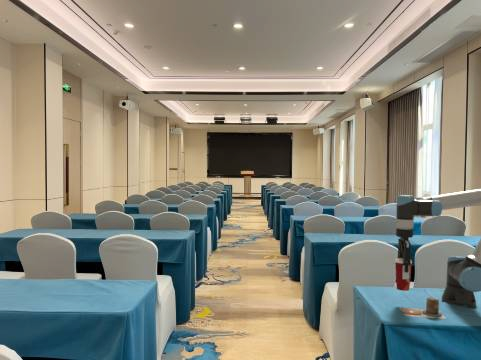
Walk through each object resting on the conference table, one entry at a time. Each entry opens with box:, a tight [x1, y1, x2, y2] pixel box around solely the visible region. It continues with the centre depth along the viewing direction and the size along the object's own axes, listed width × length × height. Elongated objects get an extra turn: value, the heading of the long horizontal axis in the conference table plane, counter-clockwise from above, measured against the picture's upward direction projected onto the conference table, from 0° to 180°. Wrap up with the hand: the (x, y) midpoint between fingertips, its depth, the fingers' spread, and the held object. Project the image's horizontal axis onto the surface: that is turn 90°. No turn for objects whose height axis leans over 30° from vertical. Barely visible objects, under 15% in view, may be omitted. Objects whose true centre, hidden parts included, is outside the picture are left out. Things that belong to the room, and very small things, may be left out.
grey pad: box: [422, 309, 443, 317], centre depth 196 cm, size 8×8×1 cm
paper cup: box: [394, 257, 413, 292], centre depth 208 cm, size 8×8×14 cm
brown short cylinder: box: [425, 297, 440, 315], centre depth 196 cm, size 5×5×6 cm
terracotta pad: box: [401, 307, 422, 315], centre depth 197 cm, size 8×8×1 cm
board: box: [399, 307, 447, 320], centre depth 197 cm, size 17×11×1 cm, turn 83°
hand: (403, 276), depth 208 cm, fingers closed on paper cup, 8 cm apart
